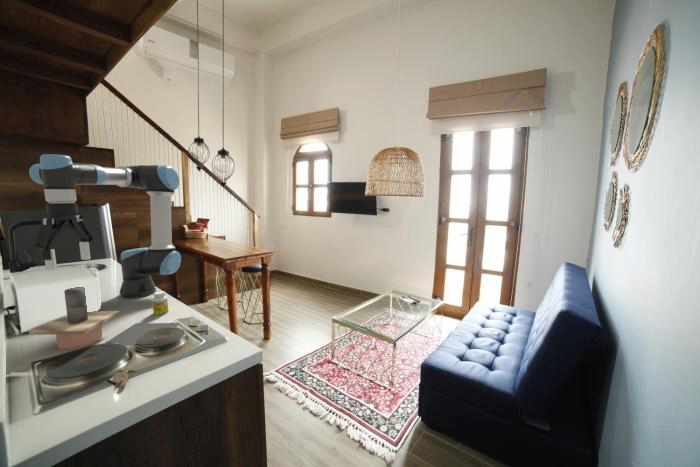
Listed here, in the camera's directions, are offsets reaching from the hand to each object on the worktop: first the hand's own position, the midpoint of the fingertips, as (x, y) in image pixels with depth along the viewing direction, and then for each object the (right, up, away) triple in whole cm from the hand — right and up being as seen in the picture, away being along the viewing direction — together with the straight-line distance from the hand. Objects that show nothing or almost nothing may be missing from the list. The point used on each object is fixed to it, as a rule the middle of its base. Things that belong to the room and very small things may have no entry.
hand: (69, 264), depth 102 cm
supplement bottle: (+16, -24, +24) cm, 37 cm away
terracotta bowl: (+4, -27, -1) cm, 27 cm away
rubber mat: (+22, -26, +5) cm, 35 cm away
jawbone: (+38, -30, -15) cm, 51 cm away
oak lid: (+4, -20, -2) cm, 21 cm away
